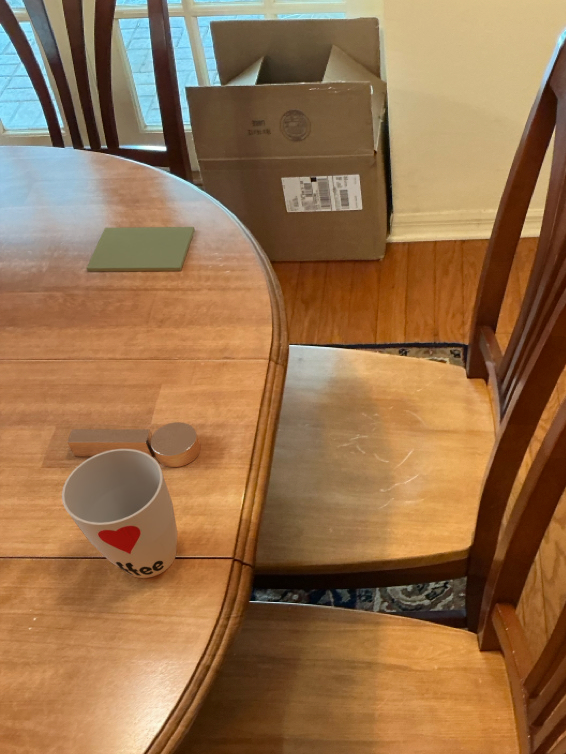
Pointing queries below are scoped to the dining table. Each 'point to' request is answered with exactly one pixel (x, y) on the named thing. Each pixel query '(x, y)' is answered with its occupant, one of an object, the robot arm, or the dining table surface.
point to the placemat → (141, 249)
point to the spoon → (140, 442)
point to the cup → (124, 510)
